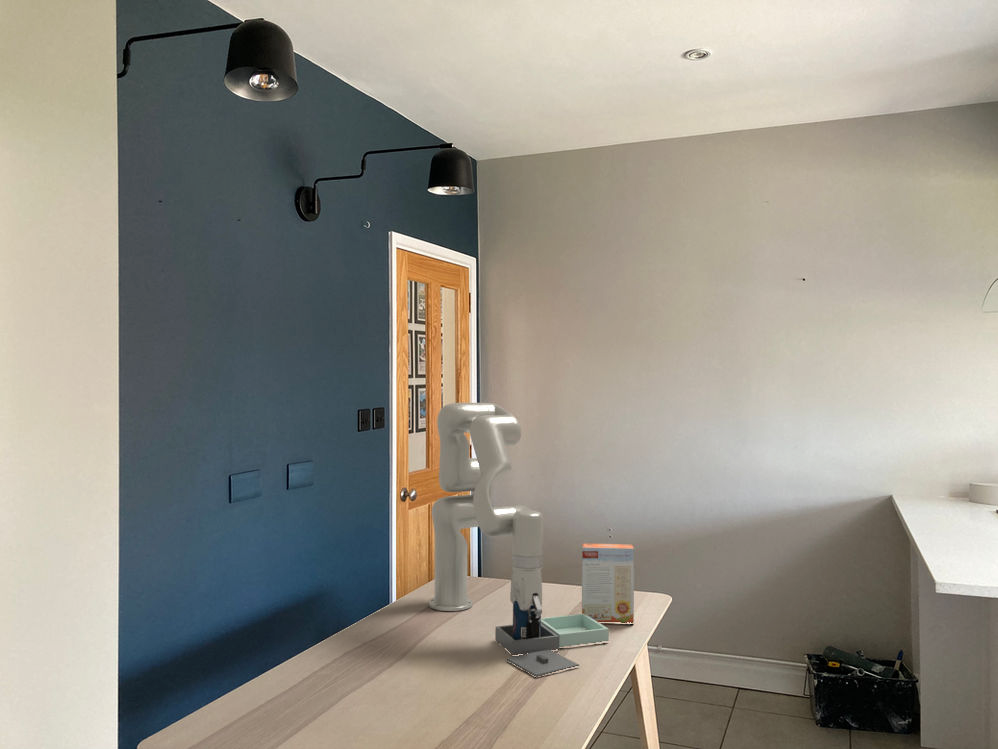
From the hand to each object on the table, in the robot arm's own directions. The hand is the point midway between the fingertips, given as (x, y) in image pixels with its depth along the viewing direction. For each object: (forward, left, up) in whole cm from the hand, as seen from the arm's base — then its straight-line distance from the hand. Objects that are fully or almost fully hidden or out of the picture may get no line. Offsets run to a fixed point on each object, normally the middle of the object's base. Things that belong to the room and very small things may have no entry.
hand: (526, 632), depth 195 cm
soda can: (0, 0, -3) cm, 3 cm away
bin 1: (0, 0, -3) cm, 3 cm away
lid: (+13, -1, -3) cm, 13 cm away
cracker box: (-11, +29, -4) cm, 31 cm away
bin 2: (-2, +14, -3) cm, 14 cm away
